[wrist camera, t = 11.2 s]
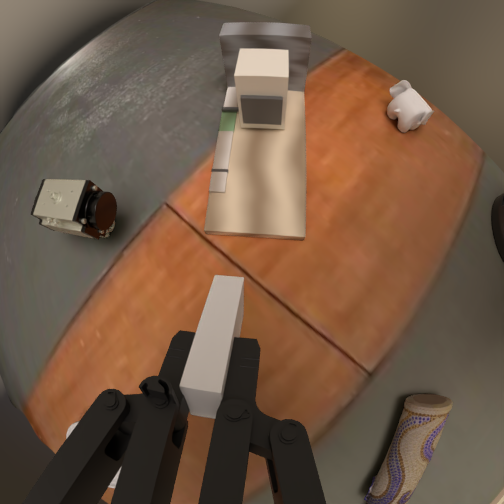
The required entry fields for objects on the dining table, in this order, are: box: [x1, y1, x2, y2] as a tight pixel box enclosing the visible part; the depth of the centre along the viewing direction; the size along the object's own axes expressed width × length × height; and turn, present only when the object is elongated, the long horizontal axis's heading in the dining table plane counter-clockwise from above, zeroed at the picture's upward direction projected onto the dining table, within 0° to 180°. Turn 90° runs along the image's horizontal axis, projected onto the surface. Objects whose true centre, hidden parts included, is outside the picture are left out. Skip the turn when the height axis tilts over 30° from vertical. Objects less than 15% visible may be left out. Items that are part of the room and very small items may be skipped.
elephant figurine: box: [387, 80, 434, 132], centre depth 33 cm, size 8×10×7 cm
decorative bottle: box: [364, 394, 453, 504], centre depth 22 cm, size 26×8×7 cm, turn 168°
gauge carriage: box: [222, 49, 289, 130], centre depth 31 cm, size 9×8×10 cm
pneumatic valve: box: [31, 179, 117, 239], centre depth 29 cm, size 6×12×12 cm, turn 80°
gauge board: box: [204, 22, 312, 240], centre depth 30 cm, size 12×28×12 cm, turn 175°
